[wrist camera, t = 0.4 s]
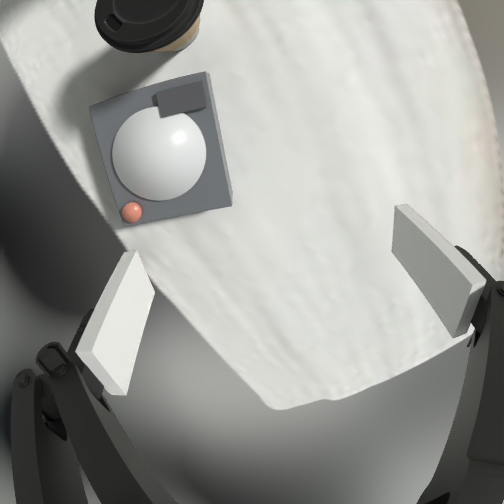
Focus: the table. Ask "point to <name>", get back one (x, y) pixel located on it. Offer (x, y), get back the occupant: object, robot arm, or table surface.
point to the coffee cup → (148, 24)
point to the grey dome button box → (163, 150)
